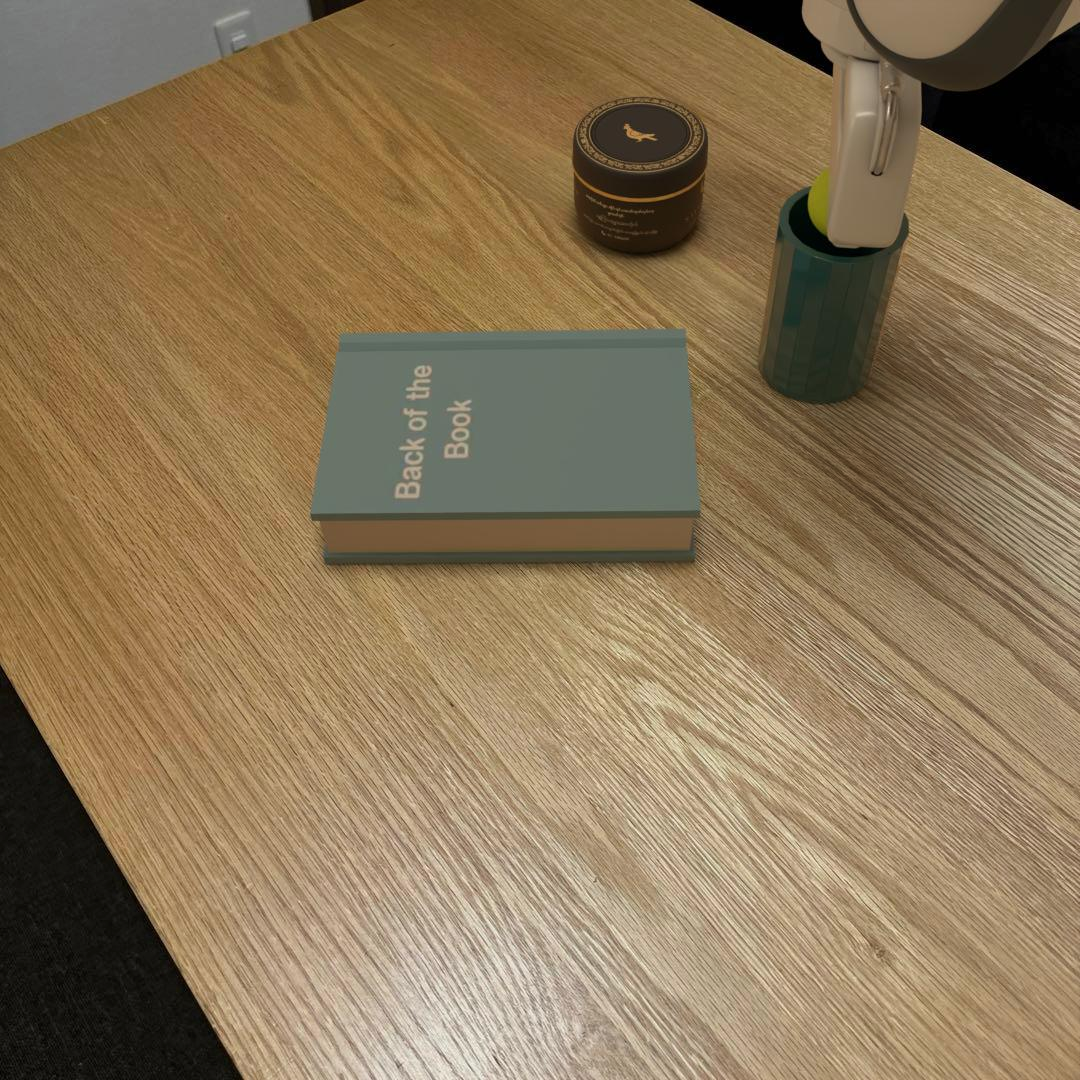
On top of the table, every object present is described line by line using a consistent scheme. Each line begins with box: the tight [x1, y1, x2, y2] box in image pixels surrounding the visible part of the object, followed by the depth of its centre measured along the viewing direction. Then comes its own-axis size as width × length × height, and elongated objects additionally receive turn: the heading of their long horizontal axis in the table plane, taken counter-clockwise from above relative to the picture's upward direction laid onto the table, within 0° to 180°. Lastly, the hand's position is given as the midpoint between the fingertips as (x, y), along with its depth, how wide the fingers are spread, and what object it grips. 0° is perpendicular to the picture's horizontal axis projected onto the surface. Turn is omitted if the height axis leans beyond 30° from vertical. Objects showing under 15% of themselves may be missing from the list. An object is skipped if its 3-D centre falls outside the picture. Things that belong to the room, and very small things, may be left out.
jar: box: [571, 96, 709, 255], centre depth 89 cm, size 10×10×8 cm
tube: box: [757, 185, 910, 405], centre depth 78 cm, size 8×8×12 cm
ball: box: [808, 167, 829, 237], centre depth 72 cm, size 5×5×5 cm
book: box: [309, 328, 702, 565], centre depth 76 cm, size 23×16×5 cm
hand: (847, 209), depth 72 cm, fingers closed on ball, 4 cm apart
